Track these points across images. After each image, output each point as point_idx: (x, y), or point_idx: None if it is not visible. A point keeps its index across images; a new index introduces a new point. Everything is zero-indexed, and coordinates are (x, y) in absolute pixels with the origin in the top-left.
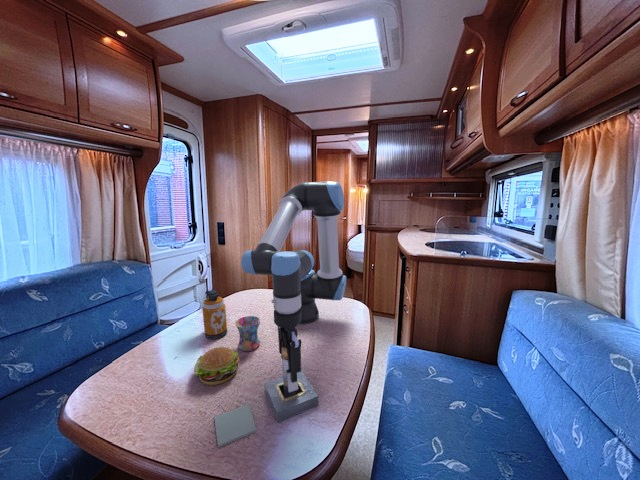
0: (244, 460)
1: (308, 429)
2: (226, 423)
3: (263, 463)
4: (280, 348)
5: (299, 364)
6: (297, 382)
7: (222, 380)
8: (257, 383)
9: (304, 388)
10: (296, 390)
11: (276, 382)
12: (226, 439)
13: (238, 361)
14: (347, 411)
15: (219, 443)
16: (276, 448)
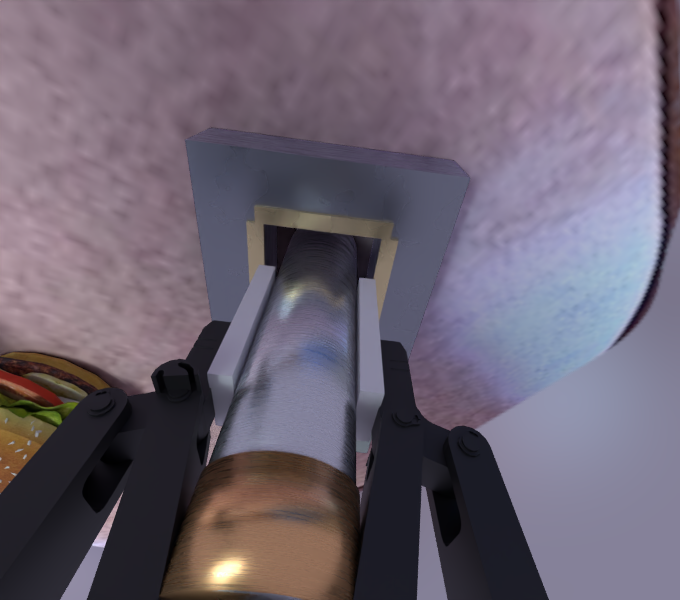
0: (441, 423)
1: (514, 269)
2: None
3: (486, 401)
4: (116, 502)
5: (512, 532)
6: (376, 310)
7: None
8: (163, 321)
9: (358, 215)
10: (351, 265)
11: (233, 309)
12: (363, 441)
13: (18, 381)
14: (640, 16)
15: (363, 450)
16: (478, 369)
